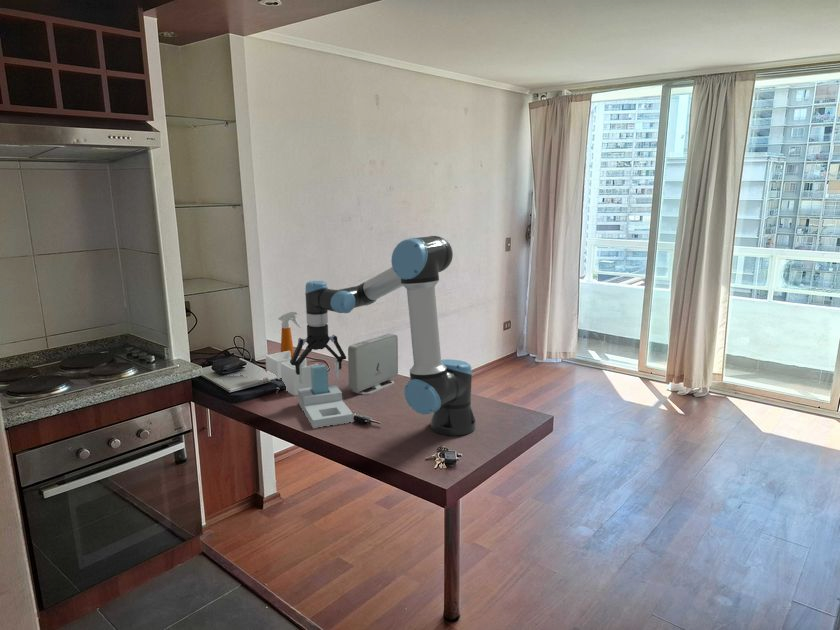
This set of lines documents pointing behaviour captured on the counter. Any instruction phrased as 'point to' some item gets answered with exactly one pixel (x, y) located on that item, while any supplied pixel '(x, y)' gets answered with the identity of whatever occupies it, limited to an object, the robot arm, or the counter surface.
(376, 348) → the network device
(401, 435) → the counter surface
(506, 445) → the counter surface
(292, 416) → the counter surface
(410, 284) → the robot arm
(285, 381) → the storage container
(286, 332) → the spray bottle
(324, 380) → the plug
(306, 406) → the panel
